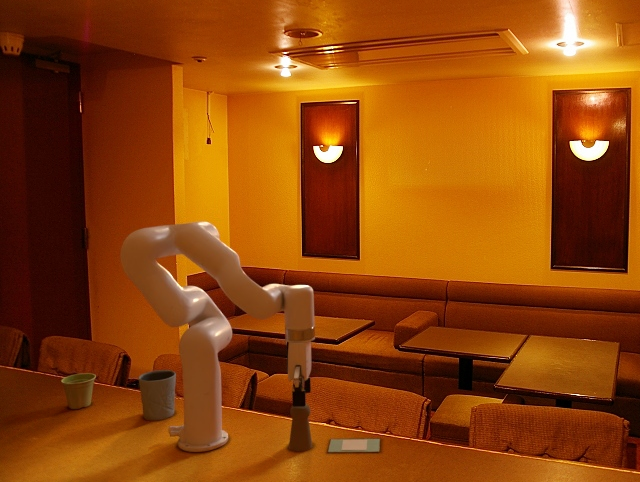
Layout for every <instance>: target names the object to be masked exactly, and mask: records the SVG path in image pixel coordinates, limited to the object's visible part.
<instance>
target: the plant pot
mask: <svg viewBox="0 0 640 482" xmlns="http://www.w3.org/2000/svg"><path fill="white" fill-rule="evenodd" d="M96 378H97V375H96V373H95V374H94V373H90V372H89V373H88V372H87V373H83V372H82V373H76V374H71V375H68V376H65V377H63V378H62V379H61V380H60V382H61V384H62V386H63V388H64V392H65V396H66V397H65V398H66V402H67V407H68V408H69V409H71V410H79V409H81V408H87V407H89V406H91V404H92V396H93V390H94V383H95V379H96Z"/></svg>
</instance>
